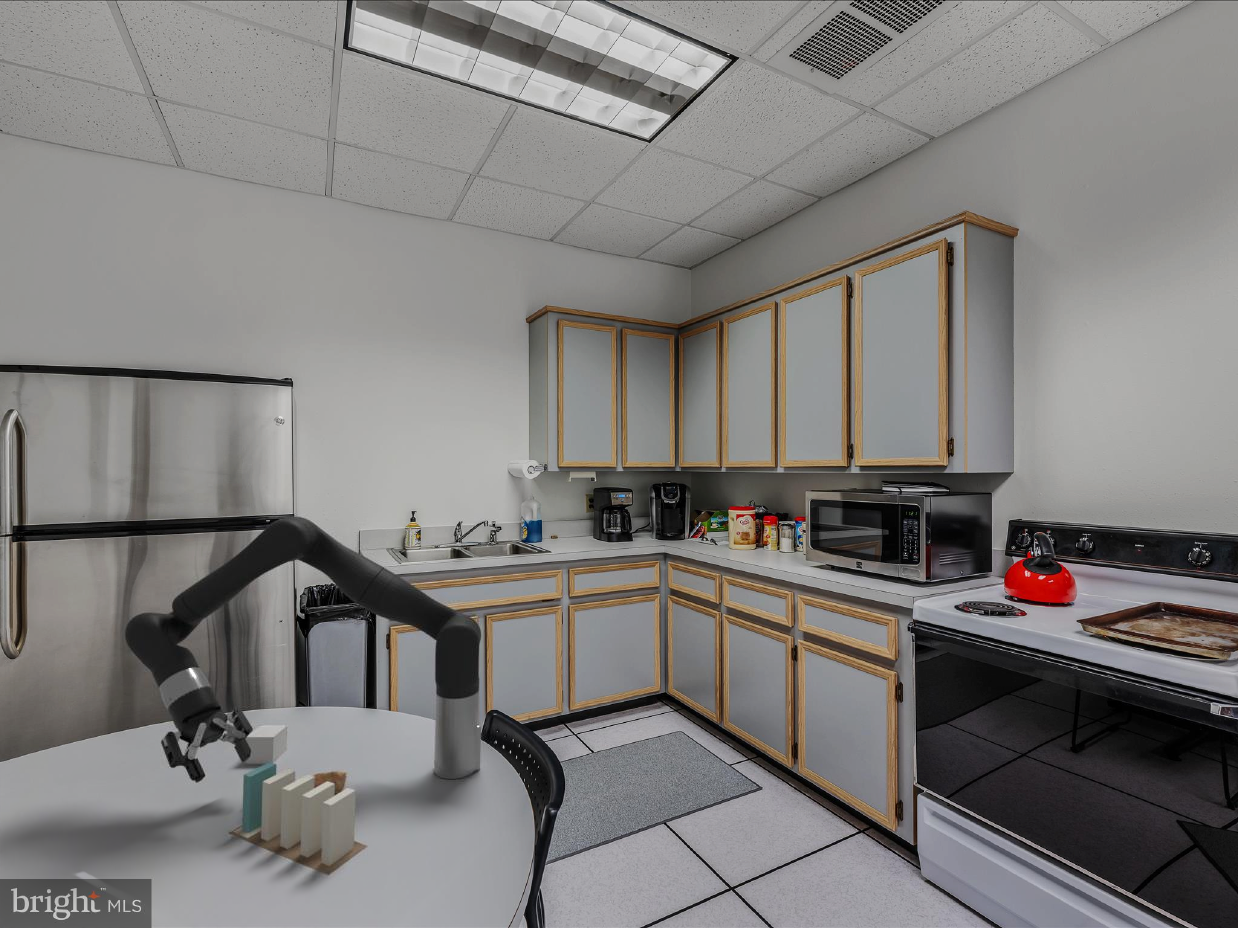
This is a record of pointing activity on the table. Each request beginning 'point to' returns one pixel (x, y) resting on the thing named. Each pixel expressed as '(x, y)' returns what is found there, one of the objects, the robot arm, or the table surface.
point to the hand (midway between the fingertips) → (224, 768)
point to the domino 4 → (338, 826)
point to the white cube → (267, 744)
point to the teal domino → (254, 795)
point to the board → (296, 850)
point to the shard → (331, 780)
